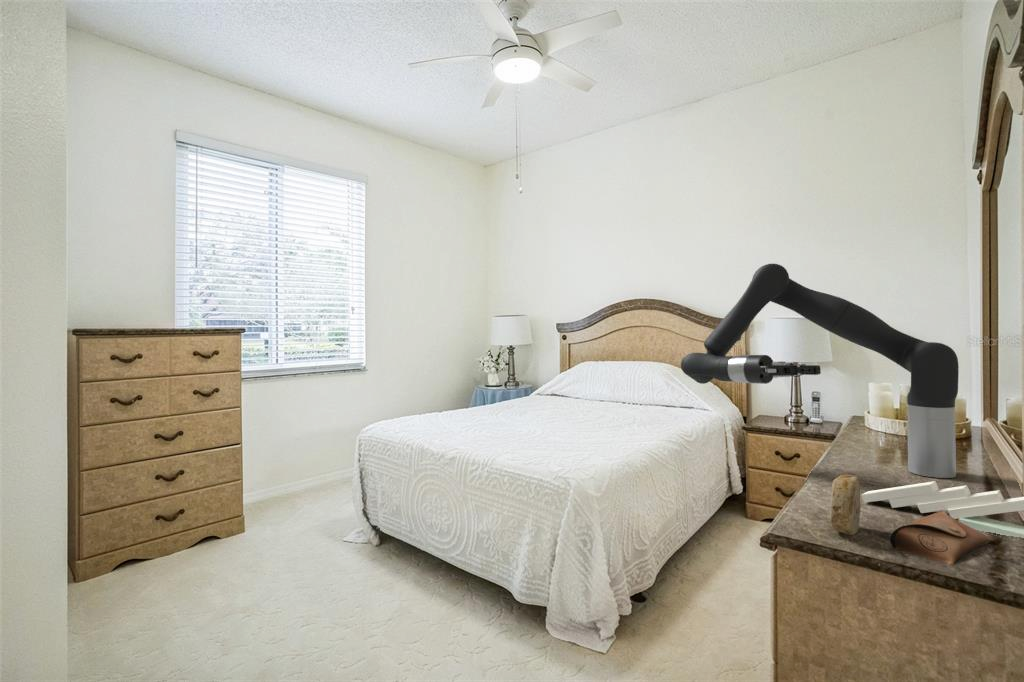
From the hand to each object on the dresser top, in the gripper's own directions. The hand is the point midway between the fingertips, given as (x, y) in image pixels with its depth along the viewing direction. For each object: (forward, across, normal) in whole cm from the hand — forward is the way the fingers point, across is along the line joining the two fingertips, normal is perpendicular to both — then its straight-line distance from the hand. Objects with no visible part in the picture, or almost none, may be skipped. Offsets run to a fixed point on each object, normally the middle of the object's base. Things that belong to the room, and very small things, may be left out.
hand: (818, 370), depth 118 cm
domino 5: (+27, -6, +27) cm, 39 cm away
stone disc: (+17, -28, +27) cm, 43 cm away
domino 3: (+20, -5, +26) cm, 34 cm away
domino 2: (+16, -6, +26) cm, 31 cm away
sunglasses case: (+28, -21, +28) cm, 45 cm away
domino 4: (+25, -5, +26) cm, 37 cm away
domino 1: (+11, -6, +26) cm, 29 cm away
